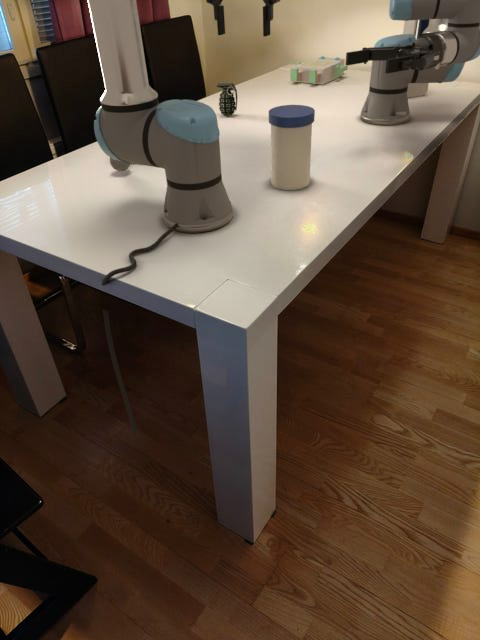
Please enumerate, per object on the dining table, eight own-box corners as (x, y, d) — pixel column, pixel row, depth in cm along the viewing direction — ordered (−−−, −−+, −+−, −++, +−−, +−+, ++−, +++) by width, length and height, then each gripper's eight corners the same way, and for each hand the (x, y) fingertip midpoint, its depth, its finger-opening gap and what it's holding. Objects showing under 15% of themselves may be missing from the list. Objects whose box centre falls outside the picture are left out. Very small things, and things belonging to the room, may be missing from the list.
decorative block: (312, 54, 215) (354, 57, 206) (311, 70, 219) (352, 74, 210) (281, 65, 199) (325, 69, 190) (281, 83, 203) (324, 87, 194)
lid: (260, 124, 110) (260, 114, 109) (281, 112, 117) (281, 103, 116) (302, 129, 106) (302, 119, 104) (321, 117, 113) (322, 107, 111)
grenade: (217, 117, 168) (214, 86, 162) (221, 112, 172) (219, 82, 166) (235, 117, 166) (233, 86, 160) (239, 113, 171) (238, 82, 165)
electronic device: (396, 99, 175) (410, -1, 157) (386, 94, 181) (398, -2, 163) (427, 95, 178) (444, -4, 159) (416, 90, 183) (431, -5, 165)
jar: (264, 186, 119) (263, 116, 109) (282, 172, 126) (282, 105, 116) (299, 192, 115) (301, 120, 105) (315, 178, 122) (319, 109, 112)
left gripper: (294, -71, 114) (292, 33, 127) (203, -65, 124) (210, 31, 137) (281, -70, 109) (280, 38, 122) (187, -64, 119) (196, 36, 132)
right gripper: (470, 75, 114) (403, 89, 106) (393, 62, 131) (331, 72, 123) (478, 38, 109) (408, 50, 101) (397, 29, 127) (333, 39, 119)
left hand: (243, 35), depth 129 cm, fingers open, 13 cm apart
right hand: (365, 62), depth 112 cm, fingers open, 13 cm apart
